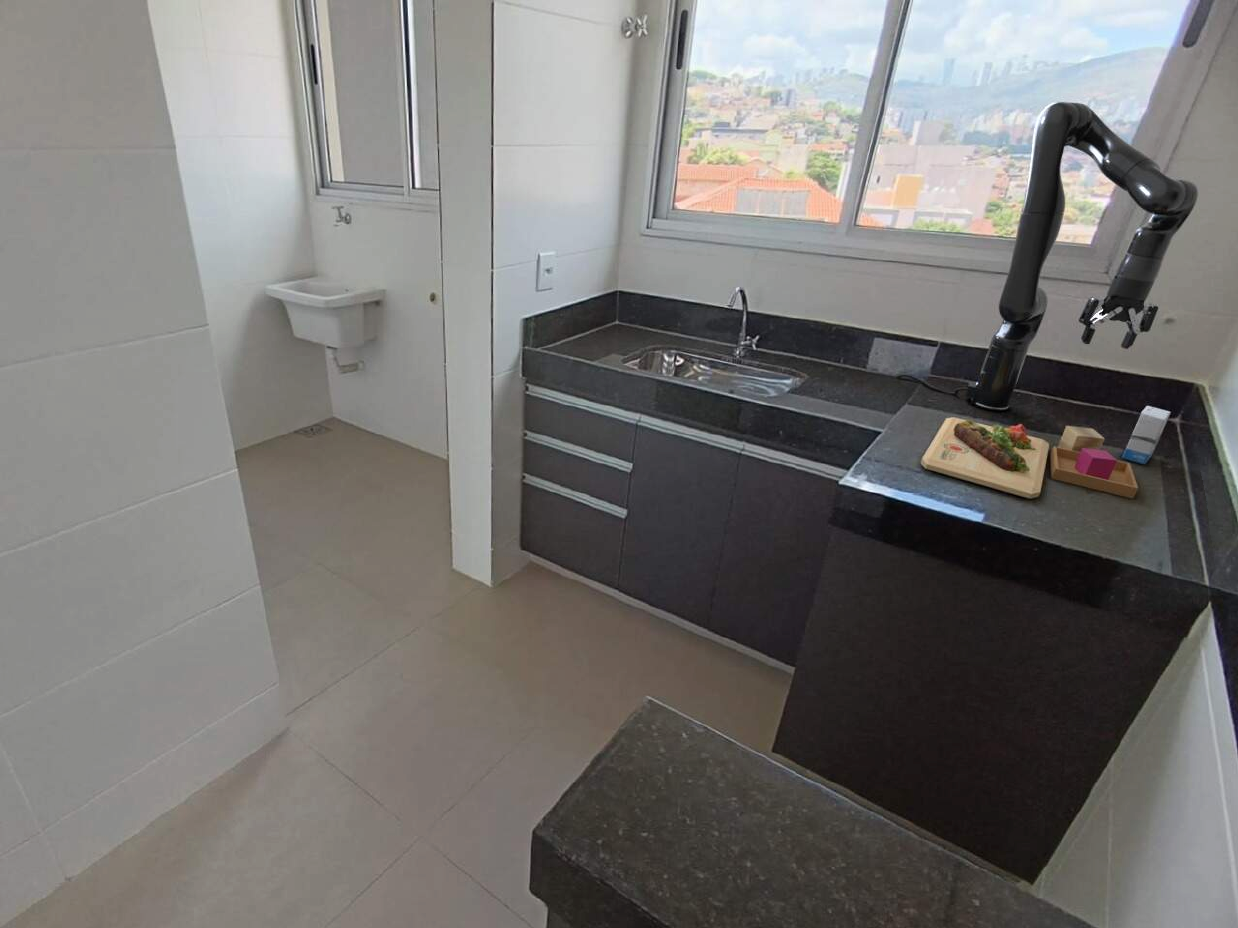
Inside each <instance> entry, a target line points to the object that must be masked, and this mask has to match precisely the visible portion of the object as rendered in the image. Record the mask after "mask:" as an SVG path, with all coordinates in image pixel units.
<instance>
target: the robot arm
mask: <svg viewBox="0 0 1238 928" xmlns="http://www.w3.org/2000/svg"><path fill="white" fill-rule="evenodd" d="M1065 147H1071V148H1073V149H1076V150H1079V151H1081V152H1083V153H1084V154H1086V155H1087V156H1089V157H1090V158H1091V159H1092V160H1093V161H1094V162H1095V164H1096V166H1097V167H1098V169H1099V171H1100V172H1101V173H1102V175H1104V177H1106V178H1107V179H1108V180H1109V181H1111V182H1112V183H1113V184H1115V185H1116V186H1117V187H1118V188H1121V190H1123V191H1125V192H1127V194H1128V195H1129V197H1130V198H1131V199H1132V200H1133V201H1134V202H1135V204H1136V205H1137V206H1138V207H1140V209H1142V210H1144V212H1147V213H1148V214H1151V217H1150V218H1149V220H1148V221H1147V223H1145V224H1144V225H1142V226H1140V227H1138V228H1137V229H1136V230H1134V231H1135V232H1134V233H1133V235H1132V238H1131V239H1130V242H1129V244H1128V246H1127V248H1126V251H1125V253H1124V255H1123V256H1122V259H1120V262H1119V264H1118V266H1117V268H1116V271H1115V273H1114V276H1113V278H1112V281H1111V282H1110V285H1109V287H1108V289H1107V293H1106V296H1105V297H1104V298H1103V299H1098V298H1095V297H1093V296H1092V297H1089V298H1088V300H1087V302H1086V304H1085V305H1084V308H1083V310H1082V313H1081V315H1080V316H1079V318H1078V322H1079V323H1080V324H1082V325H1083V326H1085V327H1084V330H1083V333H1082V335H1081V342H1082V343H1083V344H1084V345H1090V344H1091V341H1092V339H1093V337H1094V335H1095V333H1096V328H1097V327H1098V326H1100V325H1101V324H1103V323H1106V322H1108V321H1111V322H1116V321H1117V322H1122V323H1126V325H1127V328H1128V330H1127V331H1126V333H1125V335H1124V338H1123V340H1122V342H1121V345H1120V347H1121V348H1123V349H1125V350H1128V349H1130V347H1132V346H1133V345H1134V343H1135V340H1136V338H1137V336H1138V335H1139V334H1140V333H1143V332H1144V333H1149V332H1150V331H1151V328H1152V326H1153V323H1154V320H1155V318H1156V316H1157V313H1158V310H1159V306H1157V305H1155V304H1153V303H1148V304H1145V301H1146V300H1147V299H1148V297H1149V295H1150V292H1151V291H1152V288H1153V286H1154V284H1155V282H1156V279H1157V278H1158V276H1159V272H1160V271H1161V268H1162V264H1163V261H1164V258H1165V256H1166V254H1167V252H1168V249H1169V248H1170V245H1171V243H1172V240H1173V238H1174V237H1175V236H1176V234H1177V233H1178V232H1179V231H1180V229H1181V227H1182V226H1183V225H1184V224H1185V222H1186V220H1188V218H1189V217H1190V215H1191V213H1192V212H1193V210H1194V208H1195V206H1196V205H1197V201H1198V197H1199V189H1198V186H1197V185H1196V183H1194V182H1193V181H1192V180H1191V181H1190V180H1187V179H1175V178H1174V179H1173V178H1170V177H1169V176H1168V175H1165V174H1164V173H1163V172H1161V167H1160V165H1159V164H1158V163H1157V162H1156V160H1154V159H1152V158H1151V157H1149V156H1148V155H1146V154H1144V153H1143V152H1141V151H1140V150H1138V149H1137V148H1135V147H1134V146H1133V145H1131V144H1129V143H1128V142H1127V141H1125V140H1124V139H1122V138H1121V137H1120V136H1119V135H1117V134H1116V133H1115V132H1114V131H1113V130H1112V129H1111V128H1109V126H1108V125H1107V124H1105V122H1104V121H1103V120H1102V119H1101V117H1099V115H1097V114H1096V113H1095V111H1094V110H1093V109H1092V108H1091V107H1090V106H1088V105H1087V104H1084V103H1081V102H1070V101H1069V102H1068V101H1057V102H1052V103H1050V104H1049V105H1047V106H1046V107H1045V108H1044V109H1043V110H1042V111H1041V113H1040V115H1039V116H1038V118H1037V120H1036V123H1035V126H1034V131H1033V138H1032V149H1031V157H1030V158H1031V159H1030V165H1029V171H1028V172H1029V173H1028V177H1027V183H1026V187H1025V193H1024V199H1023V203H1022V208H1021V210H1020V211H1021V212H1020V215H1019V220H1018V225H1017V229H1016V235H1015V241H1014V245H1013V251H1012V255H1011V261H1010V266H1009V270H1008V273H1007V277H1006V280H1005V283H1004V286H1003V289H1002V292H1001V295H1000V298H999V300H998V301H999V302H998V311H999V315H1000V317H1001V318H1002V319H1003V320H1002V322H1001V324H1000V326H999V327H998V328H997V329H996V330H995V332H993V334H992V337H991V340H990V343H989V346H988V349H987V352H986V356H985V358H984V361H983V364H982V367H981V369H980V372H979V375H978V379H977V381H976V382H973V381H969V383H968V386H967V387H958V388H956V389H955V391H954V392H951V391H946V390H943V389H941V388H938V387H936V386H934V385H931V384H930V383H928V381H926V380H923V379H920V378H918V377H916V376H913V375H911V374H907V373H906V374H905V373H904V374H898V375H896V376H895V377H894V378H895V379H899V378H909V379H912V380H914V381H916V382H919V383H922V384H924V385H925V386H927V387H929V388H930V389H932V390H934V391H937V392H939V393H941V394H947V395H951V396H954V395H957V394H958V392H959V391H966V392H965V397H966V398H971V400H970V405H972V406H975V407H978V408H981V409H982V410H983V409H984V410H986V411H993V412H1004V411H1008V410H1009V406H1010V403H1011V400H1012V397H1013V394H1014V391H1015V388H1016V386H1017V382H1018V380H1019V377H1020V374H1021V371H1022V369H1023V366H1024V363H1025V361H1026V357H1027V354H1028V352H1029V349H1030V347H1031V344H1032V343H1033V341H1034V340H1035V338H1036V337H1037V334H1038V331H1039V329H1040V326H1041V324H1042V323H1043V319H1044V316H1045V314H1046V311H1047V308H1048V302H1049V301H1048V296H1047V292H1045V290H1044V289H1043V288H1042V287H1040V286H1039V282H1040V277H1041V273H1042V269H1043V267H1044V264H1045V262H1046V260H1047V258H1048V257H1049V255H1050V252H1051V251H1052V249H1053V247H1054V246H1055V243H1056V241H1057V239H1058V237H1059V234H1060V231H1061V228H1062V223H1063V219H1064V214H1065V210H1066V195H1065V189H1064V186H1063V185H1064V184H1063V180H1062V175H1061V173H1062V172H1061V169H1062V168H1061V165H1062V160H1063V155H1064V151H1065ZM1100 307H1101V310H1099V311H1098V312H1097V313H1095V312H1096V310H1098V309H1099V308H1100ZM1141 312H1142V316H1141V318H1140V319H1141V320H1140V322H1139V320H1138V317H1137V315H1138V314H1140V313H1141ZM1094 313H1095V314H1094Z"/></svg>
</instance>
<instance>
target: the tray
mask: <svg viewBox="0 0 1238 928" xmlns="http://www.w3.org/2000/svg"><path fill="white" fill-rule="evenodd" d="M1051 449H1052V450H1051V452H1050V454H1049V461H1050V462H1049V463H1050V475H1051V479H1052V480H1055V481H1060V482H1064V483H1067V484H1071V485H1075V486H1080V487H1083V488H1087V489H1092V490H1096V491H1100V492H1104V493H1108V494H1112V495H1117V496H1121V497H1124V498H1128V499H1132V500H1133V499H1134V498H1135V496H1136V494H1137V492H1138V490H1139V486H1138V484H1137V480H1136V477H1135V474H1134V471H1133V467H1132V465H1131V463H1130V462H1126V461H1122V460H1117V462H1116V464H1115V466H1114V469H1113V471H1112V473H1111V475H1110V477H1109V480H1106V479H1102V478H1097V477H1093V476H1089V475H1085V474H1081V473H1079V472H1078V471H1077V470H1076V469H1075V468H1074V467H1075V464H1076V462H1077V460H1078V457H1079V455H1080V453H1081V452H1078V451H1073V450H1069V449H1064V448H1060V447H1058V446H1055V445H1053V446H1052V448H1051Z"/></svg>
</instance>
